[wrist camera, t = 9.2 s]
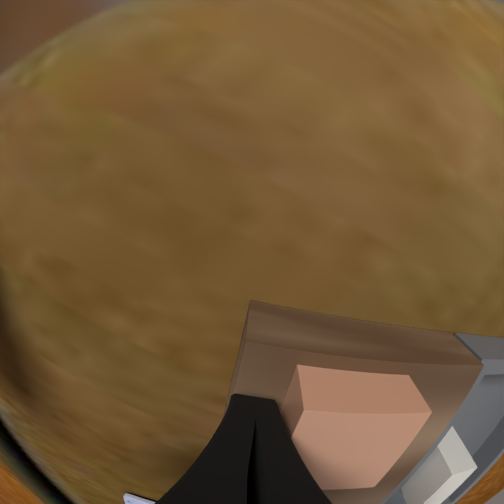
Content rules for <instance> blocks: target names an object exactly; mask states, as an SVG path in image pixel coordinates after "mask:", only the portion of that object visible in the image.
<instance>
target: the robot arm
mask: <svg viewBox="0 0 504 504" xmlns="http://www.w3.org/2000/svg"><path fill="white" fill-rule="evenodd" d="M124 501H125V504H332V502H331V501H330V500H329V499H328V497H327V496H326V495H325V494H324V492H323V491H322V490H321V488H320V487H319V485H318V484H317V482H316V481H315V480H314V478H313V476H312V475H311V473H310V472H309V470H308V468H307V467H306V465H305V463H304V462H303V460H302V458H301V456H300V455H299V453H298V451H297V449H296V447H295V445H294V443H293V441H292V439H291V437H290V435H289V433H288V430H287V428H286V426H285V424H284V421H283V419H282V416H281V414H280V411H279V408H278V405H277V403H276V401H275V400H274V399H267V398H260V397H254V396H248V395H243V394H237V393H235V394H233V395H231V398H230V402H229V406H228V408H227V411H226V413H225V415H224V417H223V419H222V421H221V423H220V425H219V427H218V428H217V430H216V432H215V434H214V435H213V437H212V439H211V440H210V442H209V443H208V445H207V446H206V447H205V449H204V450H203V452H202V453H201V454H200V456H199V457H198V458H197V460H196V461H195V462H194V464H193V465H192V466H191V467H190V468H189V470H188V471H187V472H186V473H185V474H184V475H183V476H182V477H181V479H180V480H179V481H178V482H177V483H176V484H175V485H174V486H173V487H172V488H171V489H170V490H169V491H168V492H167V493H166V494H165V495H164V496H163V497H161V498H160V499H159V500H158V501H157V502H153V501H150V500H147V499H144V498H141V497H137V496H134V495H131V494H128V493H126V494H125V495H124Z"/></svg>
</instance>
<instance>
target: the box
mask: <svg viewBox="0 0 504 504" xmlns="http://www.w3.org/2000/svg"><path fill="white" fill-rule="evenodd" d="M454 336H455V337H456V338H457V339H458V340H459V341H460V342H461V343H462V344H463V345H464V346H465V347H466V348H467V349H468V350H469V351H470V352H471V353H472V354H473V355H474V356H475V357H476V358H477V359H478V360H479V361H480V362H481V363H482V364H483V365H484V367H483V369H482V370H481V372H480V374H479V376H478V378H477V379H476V381H475V383H474V385H473V386H472V388H471V390H470V391H469V393H468V395H467V396H466V398H465V400H464V401H463V403H462V404H461V406H460V407H459V409H458V411H457V412H456V414H455V415H454V416H453V418H452V419H451V421H450V422H449V424H448V425H447V427H446V428H445V429H444V431H443V432H442V433H441V435H440V436H439V437H438V439H437V440H436V441H435V443H434V444H433V445H432V447H431V448H430V449H429V450H428V452H427V453H426V454H425V455H424V456H423V458H422V459H421V460H420V461H419V462H418V464H417V465H416V466H415V467H414V468H413V469H412V470H411V472H410V473H409V474H408V475H407V476H406V477H405V478H404V479H403V480H402V481H401V482H400V484H399V485H398V486H397V487H396V488H395V489H394V490H393V491H392V492H391V493H390V494H389V495H388V496H387V497H386V498H385V499H384V500H383V501H382V502H381V503H379V504H406V502H405V499H404V496H403V493H402V491H401V487H402V486H403V485H404V484H405V483H406V482H407V480H408V479H409V478H410V477H411V476H412V475H413V474H414V473H415V472H416V471H417V470H418V468H419V467H420V466H421V465H422V464H423V463H424V462H425V460H426V459H427V458H428V457H429V456H430V454H431V453H432V452H433V451H434V449H435V448H436V447H437V446H438V444H439V443H440V442H441V441H442V439H443V438H444V437H445V435H446V434H447V433H448V431H449V430H450V428H451V427H452V426H453V428H454V429H455V431H456V432H457V434H458V436H459V437H460V439H461V440H462V442H463V444H464V445H465V447H466V449H467V450H468V452H469V454H470V455H471V457H472V459H473V460H474V462H475V464H476V465H477V469H476V470H475V471H474V472H473V473H472V474H471V475H470V476H469V477H468V478H467V479H466V480H465V481H464V482H463V483H462V484H461V485H460V486H459V487H458V488H457V489H456V490H455V491H454V492H453V493H452V494H451V495H450V496H449V497H448V498H446V499H445V500H444V501H443V502H442V503H441V504H455V503H456V502H457V501H458V500H459V499H460V498H461V497H462V496H463V495H464V494H466V493H467V492H468V491H469V490H470V489H471V488H472V487H473V486H474V485H475V484H476V483H477V482H478V481H479V480H480V479H481V478H482V477H483V476H484V475H485V474H486V473H487V471H488V470H489V469H490V468H491V467H492V466H493V465H494V464H495V463H496V461H497V460H498V459H499V458H500V457H501V456H502V455H503V453H504V338H499V337H488V336H478V335H468V334H459V333H455V334H454Z"/></svg>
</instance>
